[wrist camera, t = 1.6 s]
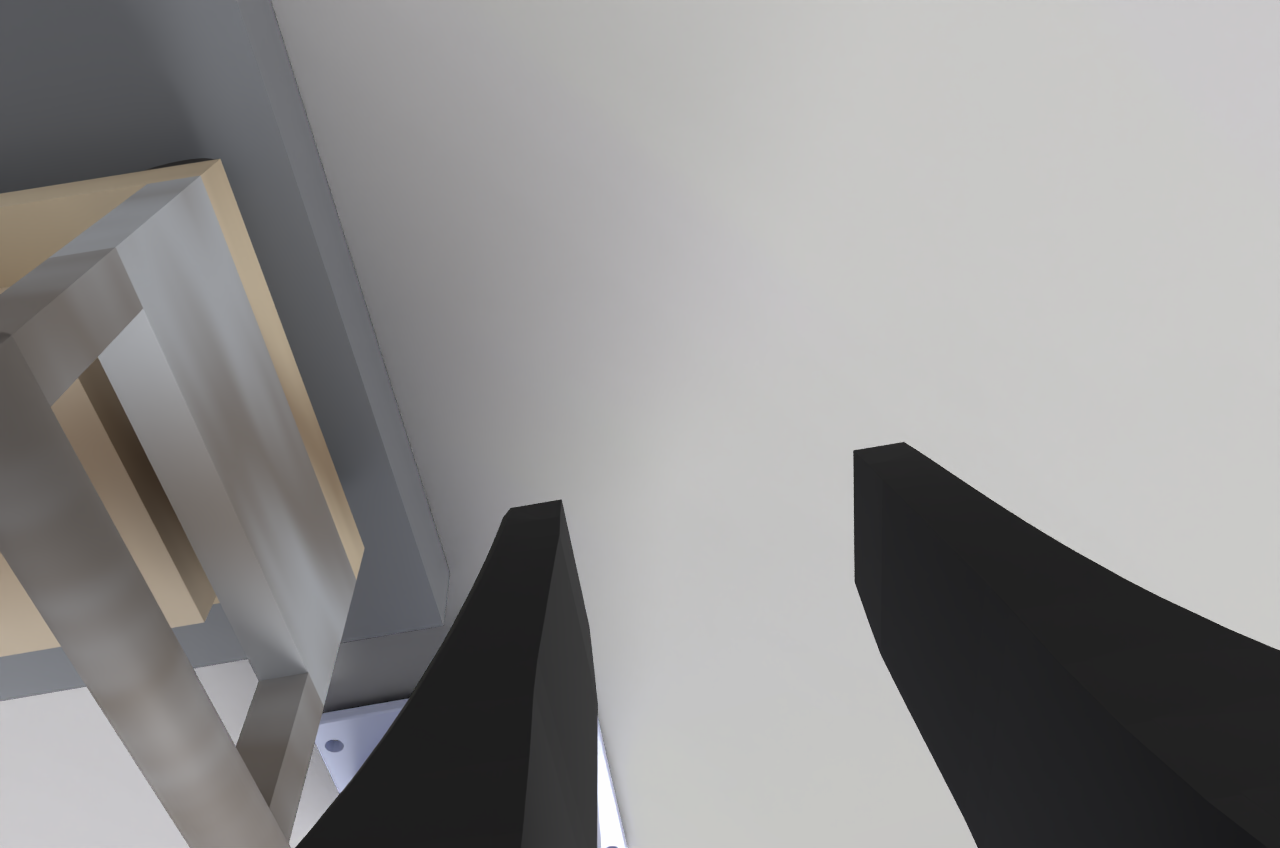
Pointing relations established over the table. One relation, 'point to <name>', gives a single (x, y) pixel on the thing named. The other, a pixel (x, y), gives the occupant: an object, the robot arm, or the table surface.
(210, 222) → the toy vehicle
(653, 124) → the table surface
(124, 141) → the dock
